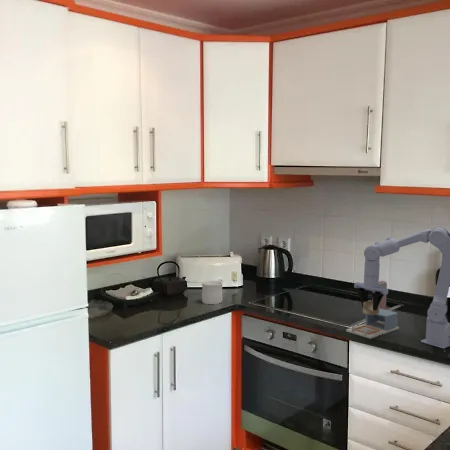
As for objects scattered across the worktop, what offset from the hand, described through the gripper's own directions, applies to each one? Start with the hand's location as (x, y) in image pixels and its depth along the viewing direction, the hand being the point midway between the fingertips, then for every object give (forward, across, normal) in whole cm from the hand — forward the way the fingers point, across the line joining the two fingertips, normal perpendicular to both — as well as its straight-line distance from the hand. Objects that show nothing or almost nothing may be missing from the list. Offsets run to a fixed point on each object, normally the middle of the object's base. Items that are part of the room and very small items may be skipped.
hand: (369, 308), depth 217 cm
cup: (+11, +75, +20) cm, 78 cm away
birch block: (+2, 0, -1) cm, 2 cm away
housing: (+9, +1, -10) cm, 13 cm away
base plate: (+10, +1, -4) cm, 11 cm away
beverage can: (+10, +13, -26) cm, 31 cm away
